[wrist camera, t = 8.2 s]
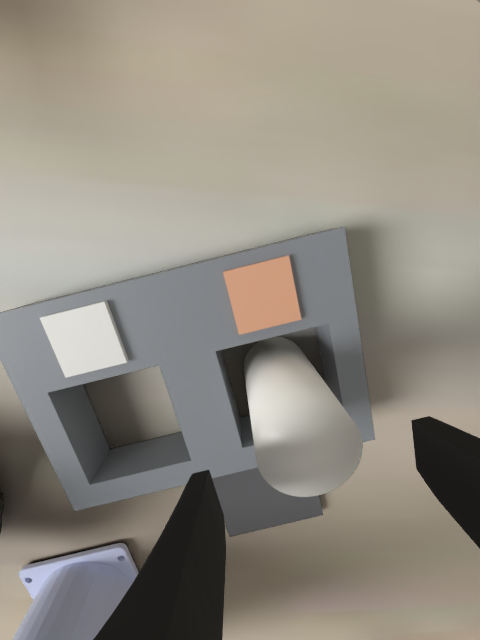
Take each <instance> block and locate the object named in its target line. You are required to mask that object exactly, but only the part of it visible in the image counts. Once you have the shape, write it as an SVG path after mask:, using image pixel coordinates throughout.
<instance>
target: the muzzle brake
mask: <svg viewBox="0 0 480 640" xmlns="http://www.w3.org/2000/svg"><path fill="white" fill-rule="evenodd" d="M3 507H4V506H3V493H0V532H1V527H2V512H3Z"/></svg>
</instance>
